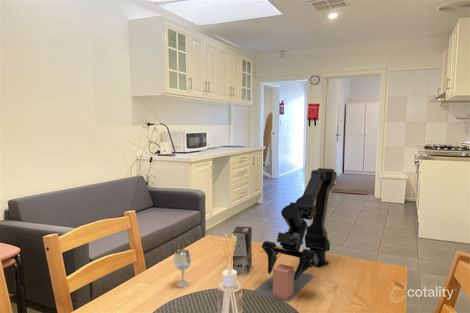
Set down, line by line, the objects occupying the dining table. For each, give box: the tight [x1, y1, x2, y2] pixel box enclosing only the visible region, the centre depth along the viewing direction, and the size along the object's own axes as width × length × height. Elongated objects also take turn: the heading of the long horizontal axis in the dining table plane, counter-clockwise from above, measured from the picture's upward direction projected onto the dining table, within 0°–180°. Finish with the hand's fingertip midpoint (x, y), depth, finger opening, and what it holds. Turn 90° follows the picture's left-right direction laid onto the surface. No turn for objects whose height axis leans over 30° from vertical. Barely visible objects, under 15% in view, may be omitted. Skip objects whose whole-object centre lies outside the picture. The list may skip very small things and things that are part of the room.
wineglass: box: [173, 249, 192, 288], centre depth 120 cm, size 6×6×12 cm
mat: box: [253, 270, 315, 303], centre depth 120 cm, size 22×13×1 cm, turn 146°
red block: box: [272, 263, 295, 300], centre depth 111 cm, size 5×5×9 cm
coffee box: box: [231, 226, 253, 276], centre depth 131 cm, size 9×6×16 cm
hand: (281, 276), depth 110 cm, fingers open, 9 cm apart
